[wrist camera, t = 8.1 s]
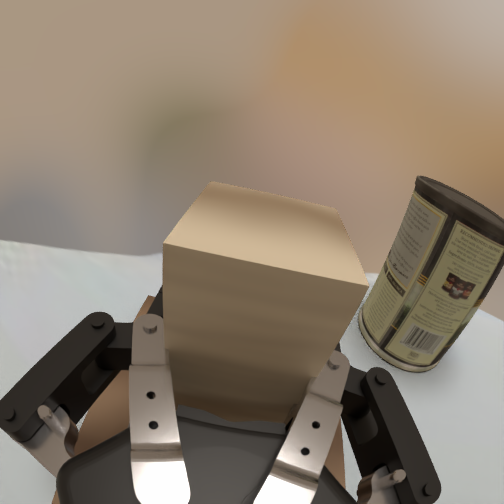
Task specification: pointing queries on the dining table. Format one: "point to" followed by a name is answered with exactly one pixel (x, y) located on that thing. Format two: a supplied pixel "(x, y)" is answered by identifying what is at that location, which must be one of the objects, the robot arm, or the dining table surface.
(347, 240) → the birch block
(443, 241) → the coffee can
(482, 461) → the dining table surface
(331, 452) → the board
